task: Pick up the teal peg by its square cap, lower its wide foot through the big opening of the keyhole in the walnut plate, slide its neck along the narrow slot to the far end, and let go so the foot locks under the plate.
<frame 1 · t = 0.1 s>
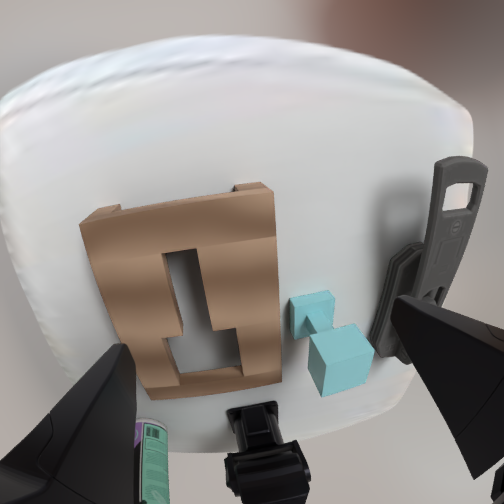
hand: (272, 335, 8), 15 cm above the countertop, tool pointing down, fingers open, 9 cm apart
spray can: (148, 426, 31), on the countertop
teal peg: (309, 310, 27), on the countertop
keyhole plate: (194, 295, 24), on the countertop
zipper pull: (410, 260, 27), on the countertop
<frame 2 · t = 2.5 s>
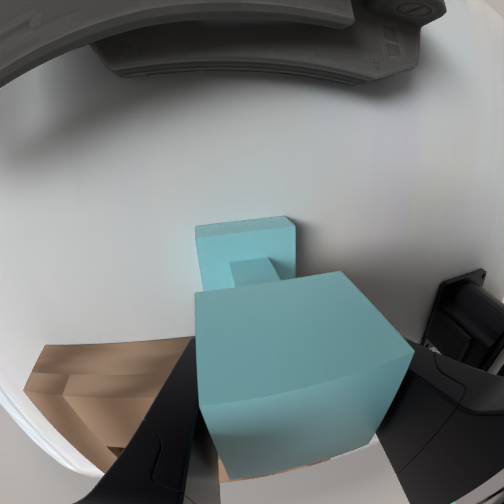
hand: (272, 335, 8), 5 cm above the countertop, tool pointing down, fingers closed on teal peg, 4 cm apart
teal peg: (244, 261, 13), on the countertop, touching gripper
keyhole plate: (199, 405, 17), on the countertop
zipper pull: (143, 13, 8), on the countertop
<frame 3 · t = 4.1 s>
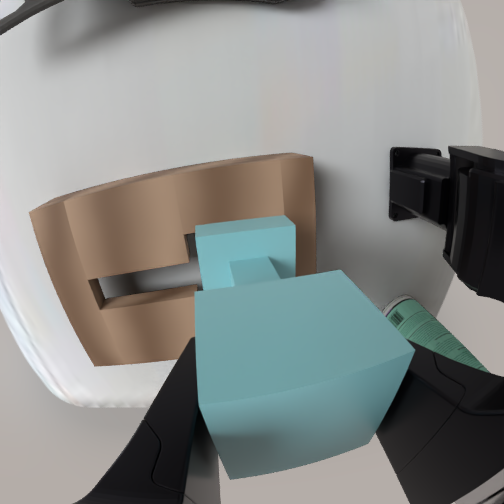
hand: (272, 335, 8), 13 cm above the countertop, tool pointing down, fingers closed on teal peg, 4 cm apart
spray can: (395, 314, 28), on the countertop
teal peg: (244, 261, 13), point 8 cm above the countertop, touching gripper
keyhole plate: (180, 256, 20), on the countertop
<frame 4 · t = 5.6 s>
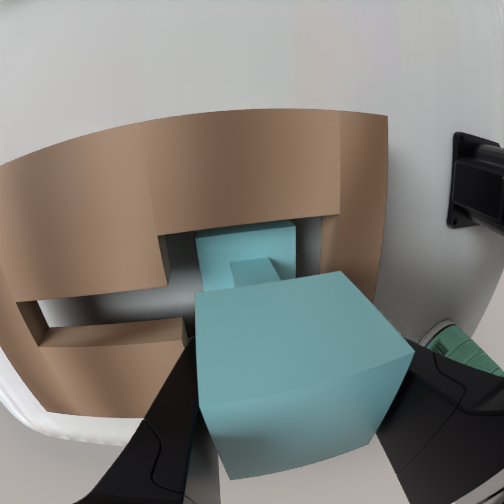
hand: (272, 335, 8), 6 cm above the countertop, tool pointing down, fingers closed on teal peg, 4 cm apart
spray can: (432, 342, 21), on the countertop
teal peg: (244, 261, 13), point 1 cm above the countertop, touching gripper
keyhole plate: (159, 268, 13), on the countertop
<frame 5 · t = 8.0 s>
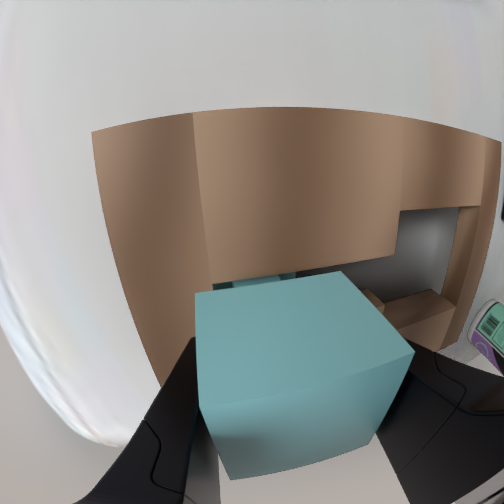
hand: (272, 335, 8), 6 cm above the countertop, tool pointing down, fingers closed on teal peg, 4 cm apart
spray can: (481, 319, 22), on the countertop
teal peg: (244, 261, 13), on the countertop, touching gripper
keyhole plate: (329, 247, 14), on the countertop
when the fingers open (6 cm above the countertop, at t = 8.8 s): teal peg stays where it is, on the countertop.
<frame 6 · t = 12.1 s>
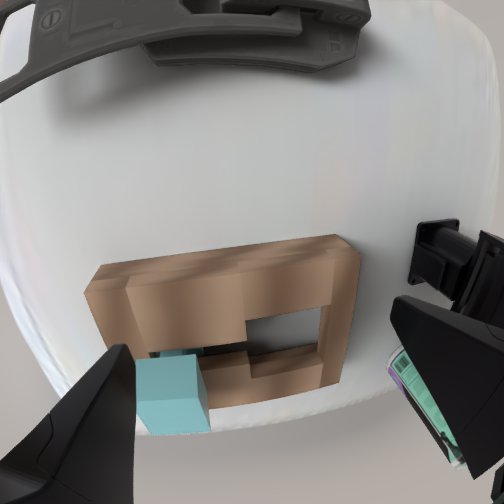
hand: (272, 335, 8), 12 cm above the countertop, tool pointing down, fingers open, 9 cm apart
spray can: (401, 355, 30), on the countertop
teal peg: (175, 328, 22), on the countertop
keyhole plate: (228, 321, 22), on the countertop
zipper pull: (171, 24, 13), on the countertop
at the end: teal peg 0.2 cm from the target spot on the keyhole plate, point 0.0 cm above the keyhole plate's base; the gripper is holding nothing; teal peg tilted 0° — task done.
